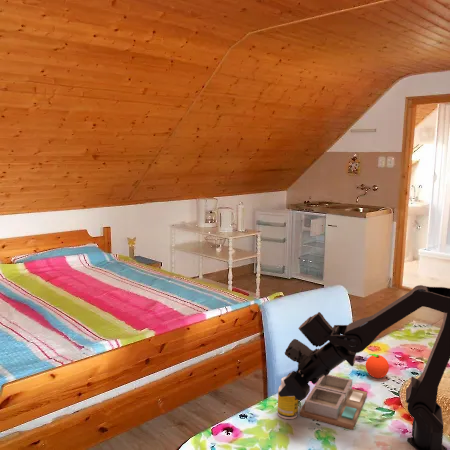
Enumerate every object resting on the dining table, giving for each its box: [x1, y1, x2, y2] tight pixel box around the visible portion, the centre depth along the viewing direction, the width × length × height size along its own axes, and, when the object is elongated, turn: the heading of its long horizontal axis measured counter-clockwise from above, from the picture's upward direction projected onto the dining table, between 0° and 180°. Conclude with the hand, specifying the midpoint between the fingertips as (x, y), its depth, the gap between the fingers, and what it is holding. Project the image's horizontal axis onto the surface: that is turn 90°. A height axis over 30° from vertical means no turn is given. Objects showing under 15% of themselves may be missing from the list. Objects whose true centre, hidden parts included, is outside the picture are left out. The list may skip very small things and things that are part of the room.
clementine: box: [364, 353, 390, 379], centre depth 147 cm, size 8×7×7 cm
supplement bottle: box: [277, 376, 299, 420], centre depth 125 cm, size 5×5×10 cm
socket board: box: [299, 385, 368, 430], centre depth 131 cm, size 19×14×2 cm
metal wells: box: [304, 374, 353, 420], centre depth 131 cm, size 18×9×3 cm, turn 153°
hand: (283, 389), depth 126 cm, fingers open, 6 cm apart
